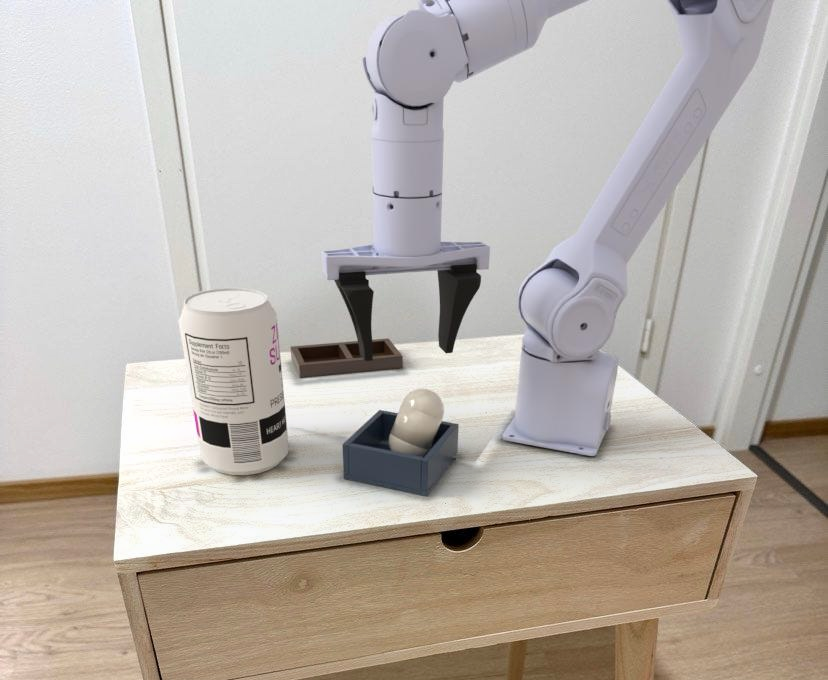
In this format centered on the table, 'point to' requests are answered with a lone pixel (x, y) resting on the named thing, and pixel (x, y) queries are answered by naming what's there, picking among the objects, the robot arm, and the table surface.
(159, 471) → the table surface
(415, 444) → the cream capsule
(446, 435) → the bin
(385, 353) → the tray
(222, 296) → the supplement can
